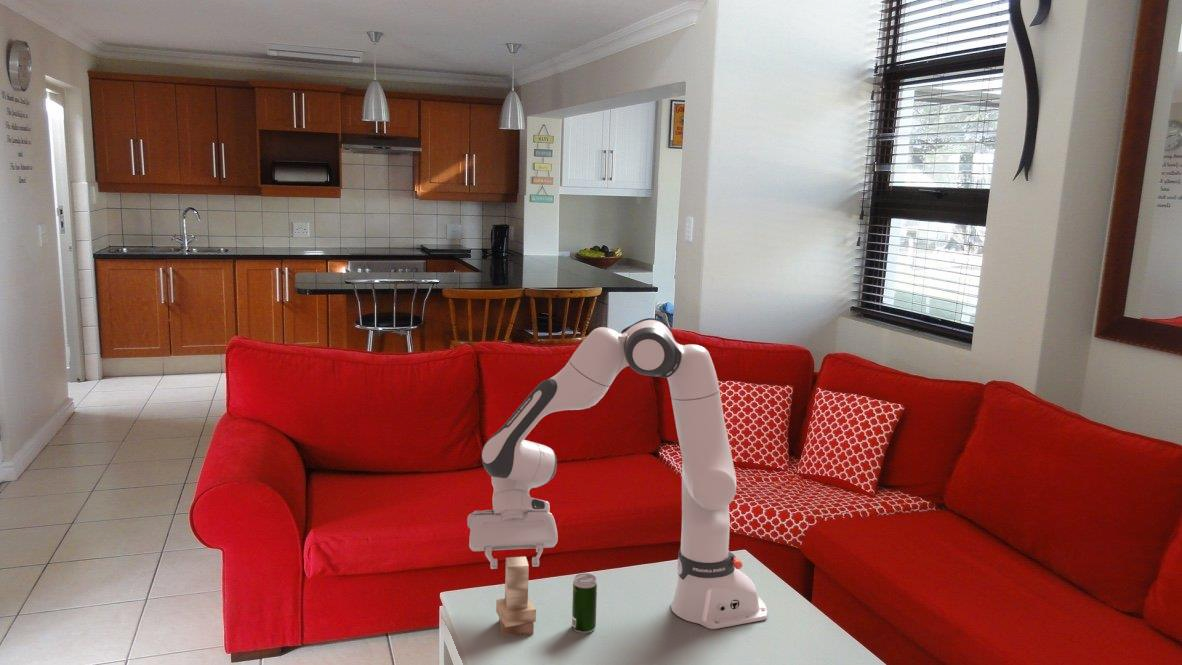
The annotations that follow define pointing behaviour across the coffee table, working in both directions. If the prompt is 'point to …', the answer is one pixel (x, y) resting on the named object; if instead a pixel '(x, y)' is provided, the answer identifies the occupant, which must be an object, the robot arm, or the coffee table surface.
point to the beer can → (584, 603)
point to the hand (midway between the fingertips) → (515, 566)
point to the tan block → (516, 582)
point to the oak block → (515, 613)
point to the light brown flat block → (516, 629)
